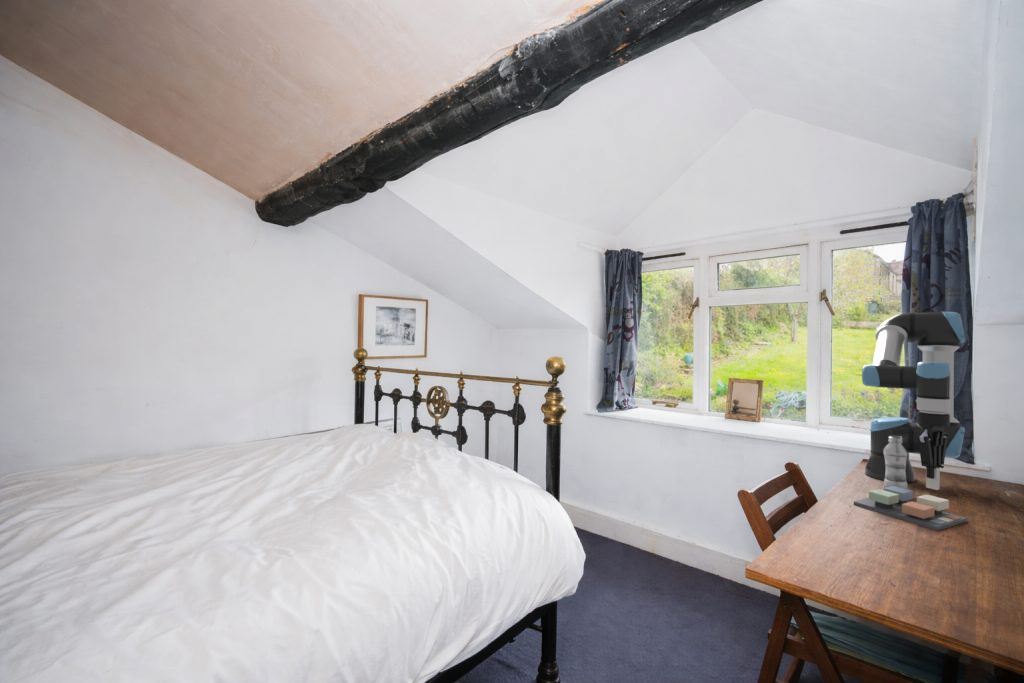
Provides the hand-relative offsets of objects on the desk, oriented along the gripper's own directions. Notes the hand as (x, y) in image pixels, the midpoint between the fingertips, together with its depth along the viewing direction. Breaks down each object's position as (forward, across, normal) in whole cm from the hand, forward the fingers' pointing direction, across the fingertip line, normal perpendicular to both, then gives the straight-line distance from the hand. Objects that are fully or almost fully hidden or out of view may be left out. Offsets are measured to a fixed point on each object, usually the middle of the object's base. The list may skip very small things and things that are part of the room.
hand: (932, 488), depth 139 cm
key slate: (+6, 0, -9) cm, 11 cm away
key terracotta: (+7, +8, 0) cm, 10 cm away
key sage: (+6, +8, -9) cm, 13 cm away
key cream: (+6, 0, 0) cm, 6 cm away
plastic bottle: (+9, -13, -16) cm, 22 cm away
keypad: (+9, +4, -5) cm, 10 cm away
